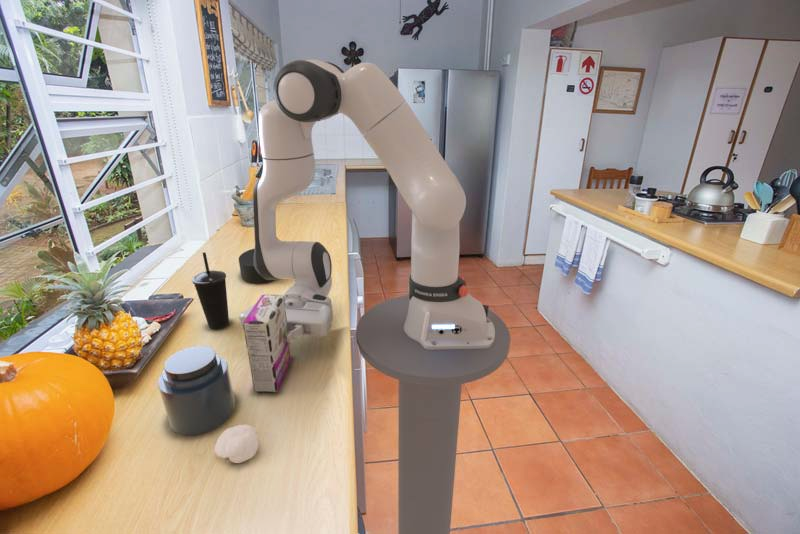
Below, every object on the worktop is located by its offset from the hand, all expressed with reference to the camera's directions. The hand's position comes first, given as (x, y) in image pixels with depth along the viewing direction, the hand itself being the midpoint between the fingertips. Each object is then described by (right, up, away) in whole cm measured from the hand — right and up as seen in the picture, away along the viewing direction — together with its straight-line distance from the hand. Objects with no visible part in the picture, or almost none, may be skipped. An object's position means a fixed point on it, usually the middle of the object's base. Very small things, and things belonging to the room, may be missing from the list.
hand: (271, 338), depth 80 cm
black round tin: (-19, +13, +51) cm, 56 cm away
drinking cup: (-20, 0, +20) cm, 29 cm away
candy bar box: (0, -8, +2) cm, 8 cm away
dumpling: (0, -16, -16) cm, 23 cm away
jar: (-10, -12, -8) cm, 18 cm away
